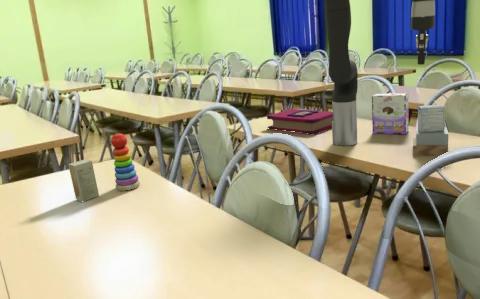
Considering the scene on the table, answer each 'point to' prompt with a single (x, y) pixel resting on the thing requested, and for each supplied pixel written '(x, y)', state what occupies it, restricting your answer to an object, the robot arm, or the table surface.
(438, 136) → the slate top block
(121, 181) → the stacking toy
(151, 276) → the table surface
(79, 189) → the skincare box
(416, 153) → the walnut base block
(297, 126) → the book
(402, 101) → the candy box
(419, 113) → the medicine box
